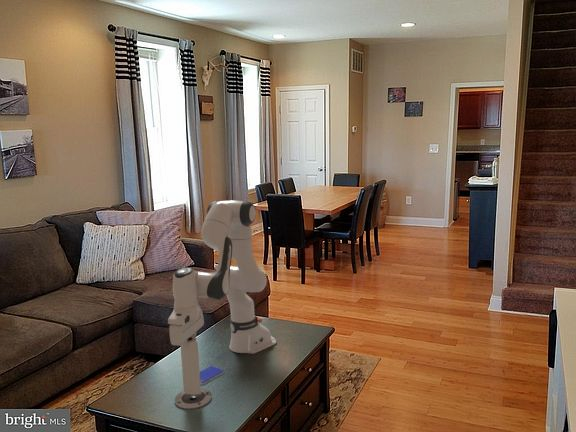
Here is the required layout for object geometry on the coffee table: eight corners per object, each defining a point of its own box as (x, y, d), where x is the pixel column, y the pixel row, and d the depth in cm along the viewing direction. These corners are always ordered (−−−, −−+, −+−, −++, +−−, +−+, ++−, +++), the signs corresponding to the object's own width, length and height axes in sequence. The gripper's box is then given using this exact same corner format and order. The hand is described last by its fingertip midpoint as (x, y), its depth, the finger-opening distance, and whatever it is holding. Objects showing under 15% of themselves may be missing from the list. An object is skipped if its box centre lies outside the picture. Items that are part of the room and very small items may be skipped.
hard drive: (202, 382, 205) (224, 370, 214) (189, 377, 210) (210, 365, 219) (203, 386, 205) (224, 373, 215) (189, 380, 210) (210, 368, 220)
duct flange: (202, 386, 204) (202, 383, 204) (217, 401, 192) (217, 398, 192) (169, 397, 197) (169, 394, 196) (183, 413, 185) (182, 410, 185)
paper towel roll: (183, 388, 196) (179, 336, 192) (198, 385, 197) (195, 334, 194) (184, 397, 189) (181, 344, 185) (201, 395, 191) (197, 341, 187)
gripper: (192, 301, 199) (194, 334, 201) (165, 321, 179) (168, 357, 182) (206, 302, 197) (208, 335, 199) (181, 322, 178) (184, 359, 180)
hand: (189, 346), depth 191 cm, fingers closed on paper towel roll, 4 cm apart
